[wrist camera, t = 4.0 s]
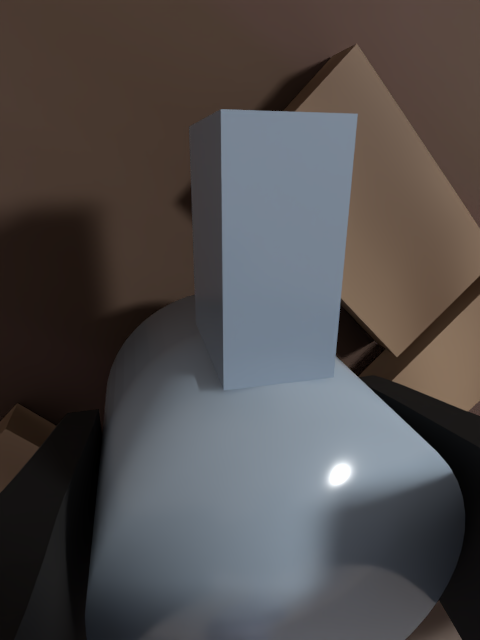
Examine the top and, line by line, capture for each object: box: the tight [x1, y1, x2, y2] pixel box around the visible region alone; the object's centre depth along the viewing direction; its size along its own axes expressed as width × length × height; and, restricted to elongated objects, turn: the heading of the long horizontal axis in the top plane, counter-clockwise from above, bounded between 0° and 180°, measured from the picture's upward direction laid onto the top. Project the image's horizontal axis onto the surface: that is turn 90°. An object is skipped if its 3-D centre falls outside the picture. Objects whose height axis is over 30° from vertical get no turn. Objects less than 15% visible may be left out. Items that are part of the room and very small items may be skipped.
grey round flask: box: [85, 109, 465, 640], centre depth 8 cm, size 9×6×6 cm, turn 0°
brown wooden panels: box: [0, 44, 480, 493], centre depth 13 cm, size 16×11×1 cm
